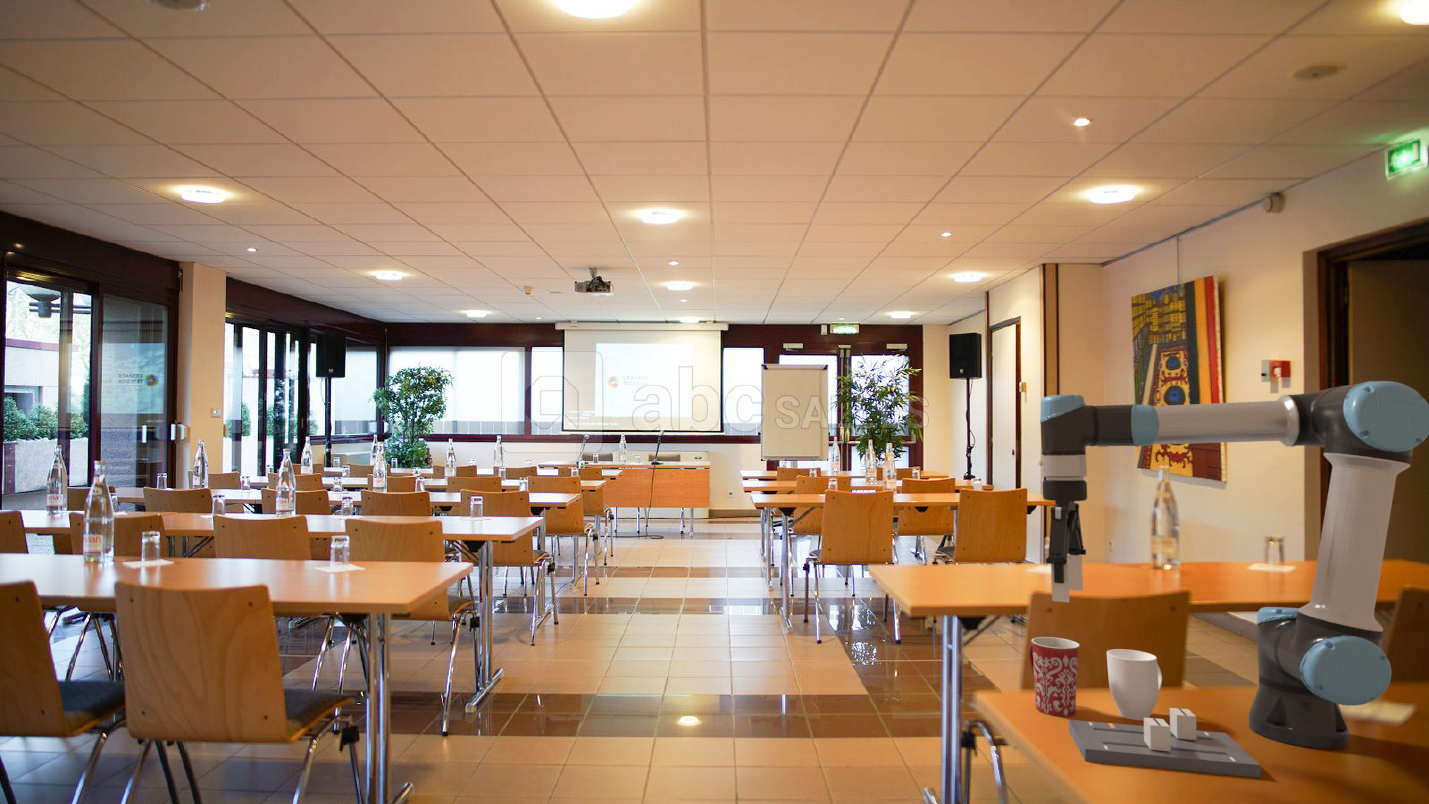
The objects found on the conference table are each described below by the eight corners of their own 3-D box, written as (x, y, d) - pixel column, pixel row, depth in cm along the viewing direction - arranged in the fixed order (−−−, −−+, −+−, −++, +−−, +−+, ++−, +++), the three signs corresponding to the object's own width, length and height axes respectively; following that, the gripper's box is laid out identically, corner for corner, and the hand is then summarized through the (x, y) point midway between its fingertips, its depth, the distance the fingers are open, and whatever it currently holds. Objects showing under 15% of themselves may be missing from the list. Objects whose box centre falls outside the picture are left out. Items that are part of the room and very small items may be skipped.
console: (1225, 744, 144) (1225, 732, 145) (1260, 777, 130) (1260, 764, 130) (1068, 730, 151) (1068, 719, 151) (1085, 761, 136) (1085, 748, 136)
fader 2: (1188, 732, 144) (1188, 708, 144) (1196, 740, 140) (1195, 716, 141) (1170, 730, 145) (1169, 707, 145) (1177, 738, 141) (1176, 714, 141)
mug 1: (1090, 717, 158) (1089, 647, 159) (1046, 718, 157) (1046, 648, 158) (1054, 697, 171) (1054, 632, 172) (1014, 698, 170) (1013, 633, 170)
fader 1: (1163, 742, 139) (1162, 718, 139) (1170, 751, 135) (1170, 726, 135) (1144, 741, 140) (1143, 716, 140) (1150, 749, 136) (1150, 724, 136)
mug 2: (1138, 726, 154) (1135, 661, 154) (1099, 713, 162) (1096, 651, 162) (1180, 717, 158) (1177, 655, 159) (1139, 705, 166) (1137, 646, 167)
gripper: (1056, 476, 162) (1059, 583, 161) (1027, 481, 141) (1031, 604, 140) (1097, 476, 158) (1100, 587, 157) (1074, 481, 137) (1078, 609, 136)
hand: (1068, 595), depth 148 cm, fingers open, 13 cm apart
